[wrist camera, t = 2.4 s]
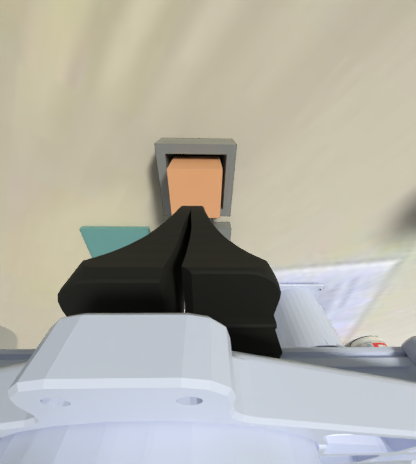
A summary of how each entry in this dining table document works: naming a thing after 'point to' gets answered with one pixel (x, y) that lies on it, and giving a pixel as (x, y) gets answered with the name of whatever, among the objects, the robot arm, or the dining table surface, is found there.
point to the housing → (199, 146)
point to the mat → (110, 238)
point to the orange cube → (195, 183)
